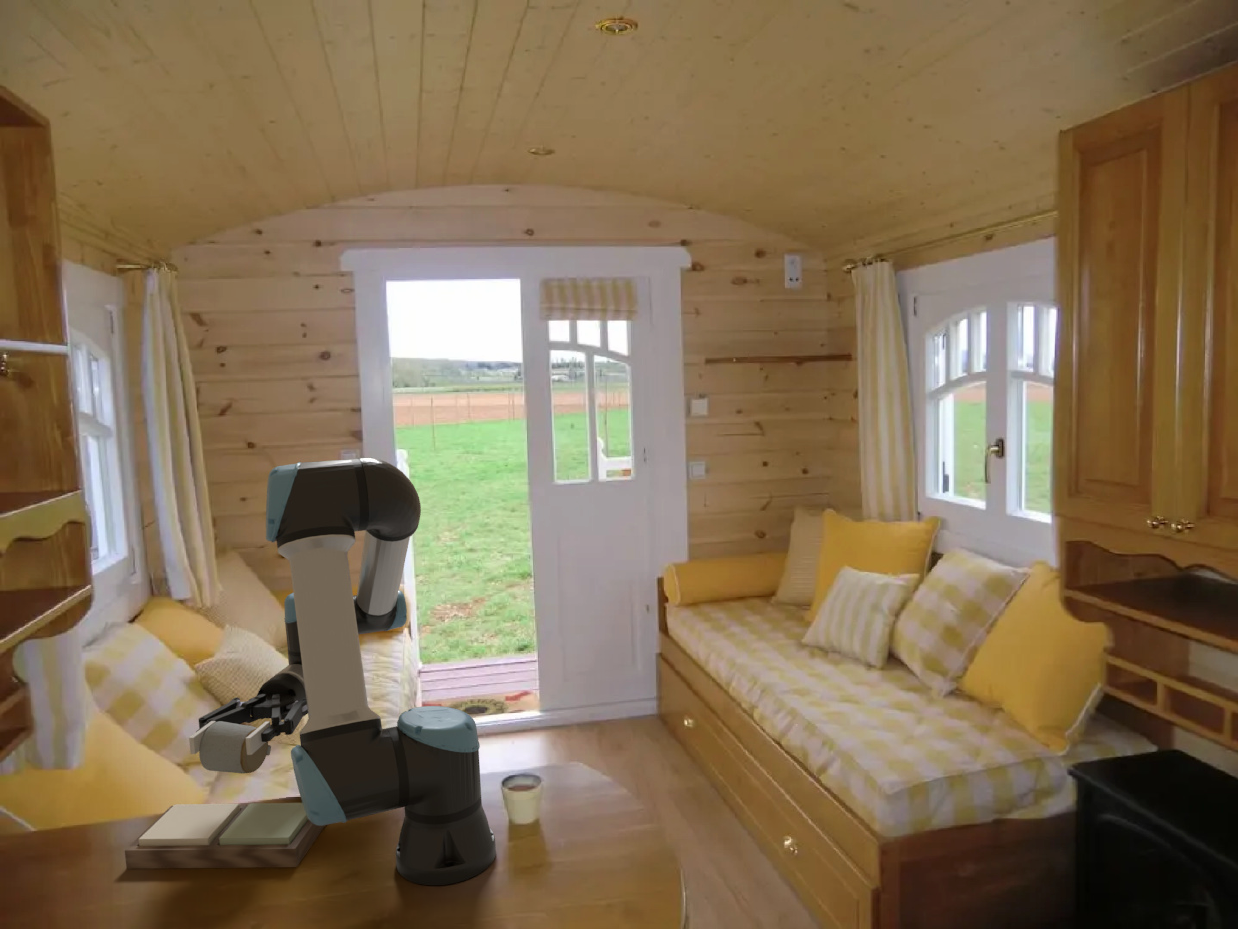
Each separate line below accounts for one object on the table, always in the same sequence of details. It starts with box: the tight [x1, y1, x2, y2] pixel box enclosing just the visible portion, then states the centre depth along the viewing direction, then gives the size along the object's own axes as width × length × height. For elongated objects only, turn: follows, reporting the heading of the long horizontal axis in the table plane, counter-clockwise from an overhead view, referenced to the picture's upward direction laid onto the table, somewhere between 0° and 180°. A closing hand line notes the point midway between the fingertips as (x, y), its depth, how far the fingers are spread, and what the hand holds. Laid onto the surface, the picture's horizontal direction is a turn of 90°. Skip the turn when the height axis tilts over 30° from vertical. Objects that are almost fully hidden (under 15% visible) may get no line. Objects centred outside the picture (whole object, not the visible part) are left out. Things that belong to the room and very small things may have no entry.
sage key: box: [219, 802, 309, 845], centre depth 151 cm, size 11×11×3 cm
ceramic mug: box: [198, 721, 272, 774], centre depth 152 cm, size 11×8×8 cm
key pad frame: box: [124, 804, 326, 870], centre depth 151 cm, size 27×14×3 cm, turn 87°
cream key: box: [139, 803, 241, 846], centre depth 151 cm, size 11×11×3 cm
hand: (220, 746), depth 146 cm, fingers closed on ceramic mug, 9 cm apart
